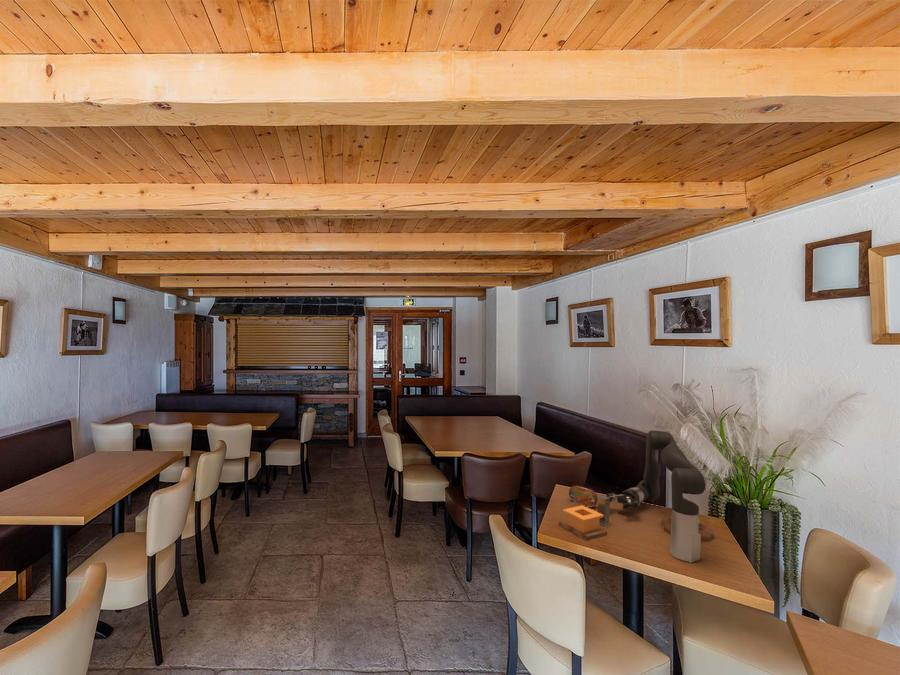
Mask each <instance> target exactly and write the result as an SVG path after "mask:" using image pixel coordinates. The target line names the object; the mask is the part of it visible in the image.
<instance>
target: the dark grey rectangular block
mask: <svg viewBox="0 0 900 675" xmlns="http://www.w3.org/2000/svg"><path fill="white" fill-rule="evenodd" d="M597 498H598V501H597V512H598V513H601V514H603V515H604V517H601V518H600V520H599V524H601V525H600V526H602V525H603V526H602V527H604V526H605V527H607V526H609V525H610V510H611V509H610V506H611V502H610V498H609V497H607V495H606V496H605V495H600V496H597ZM608 524H609V525H608ZM606 525H607V526H606Z"/></svg>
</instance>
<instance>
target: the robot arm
mask: <svg viewBox="0 0 900 675" xmlns="http://www.w3.org/2000/svg"><path fill="white" fill-rule="evenodd" d="M645 445H646V446H645V447H646V448H645V467H644V472H643V477H642V478H643V480H640V481H639V482H638V484H637V485H636V486H634V487H630V488H628V489H625V490H623V491H622V492H621V493H620V494H616V493H615V492H611V493H607V494H606V497H609V498H610V503H615V504H623V506H622V508H623V509H624V510H627V509H634V510H636V509H638V508H639V507H641V503H642V502H644V501H646V500H647V499H649V500H651V501H656V500H658V499H659V498H660V496H661V488H660V483H659V482H660V481H659V479H660V475H661V466H660V463H659V462H658V460H657V458H656V457H655V454H654V451H657V452H658V451H661V453H660V458H661V462H662V463H663V465H664V466H665V468H666V469H668V470H669V471H670V472H671V475H670V476H671V480H670V482H671V484H670V485H671V516H670V517H671V535H670V549H669V550H670V551H669V552H670V555H671V556H672V557H674V558H675V559H678V560H681V561H684V562H688V563H694V562H697V561H700V560H701V546H702V545H701V542H702V541H701V534H699V533H698V528H699V521H700V519H699V518H700V508H699V505H698V504H697V503H696V502H693V501H691V500H689V499H687V498H685V497H684V496H683V495H684V494H685V495H687V494H688V495H696V496H697V495H702V494H703V493H705V491H706V486H707V485H706V484H707V483H706V480H705V477H704V475H703V473H702V472H701V471H700V470H699V469H698V468H697V467H696V466H694V464H693V463H692V462H691V461H690V460H689V459H688V458H687V457H686V455H685V453H684V452H683V451H682V449H681V448H680V446H678V444H677V442H676V441H675V438H674V436H673V434H671V433H670V432H669V431H664V430H663V431H662V430H649V431H648V433H647V436H646V444H645Z"/></svg>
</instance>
